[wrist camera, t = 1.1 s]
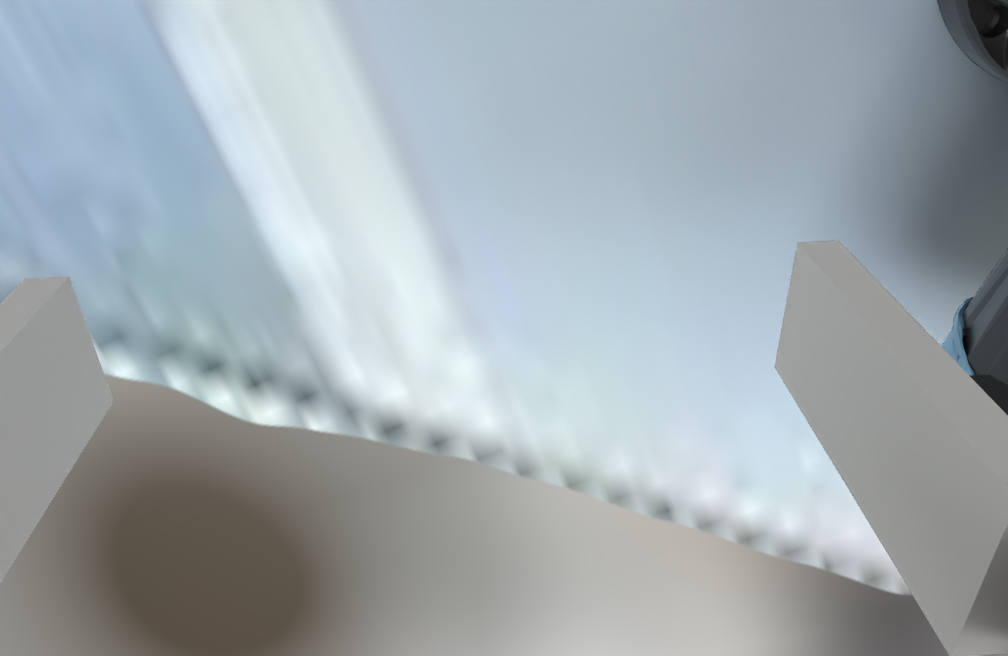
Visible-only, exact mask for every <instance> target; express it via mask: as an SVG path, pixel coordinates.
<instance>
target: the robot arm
mask: <svg viewBox="0 0 1008 656" xmlns="http://www.w3.org/2000/svg"><path fill="white" fill-rule="evenodd" d="M938 3H939V7H940V11H941V13H942V16H943V19H944V21H945V24H946V26H947V28H948V30H949V32H950V34H951V35H952V37H953V39H954V40H955V42H956V43H957V44H958V46H959V47H960V48H961V50H962V51H963V52H964V53H965V54H966V55H967V56H968V57H969V58H970V59H971V60H972V61H973V62H974V63H975V64H977V65H978V66H979V67H981V68H982V69H983V70H985V71H987V72H988V73H990V74H992V75H993V76H996V77H998V78H1000V79H1002V80H1004V81H1006V82H1008V0H938ZM775 369H776V370H777V372H778V374H779V375H780V377H781V379H782V380H783V382H784V384H785V385H786V387H787V388H788V390H789V392H790V393H791V395H792V397H793V398H794V400H795V402H796V403H797V405H798V407H799V408H800V410H801V412H802V413H803V415H804V416H805V418H806V420H807V421H808V423H809V425H810V426H811V428H812V430H813V431H814V433H815V435H816V436H817V438H818V440H819V441H820V443H821V445H822V446H823V448H824V449H825V451H826V453H827V454H828V456H829V458H830V459H831V461H832V463H833V464H834V466H835V468H836V469H837V471H838V473H839V474H840V476H841V477H842V479H843V481H844V482H845V484H846V486H847V487H848V489H849V491H850V492H851V494H852V496H853V497H854V499H855V501H856V502H857V504H858V506H859V507H860V509H861V510H862V512H863V514H864V515H865V517H866V519H867V520H868V522H869V524H870V525H871V527H872V529H873V530H874V532H875V534H876V535H877V537H878V538H879V540H880V542H881V543H882V545H883V547H884V548H885V550H886V552H887V553H888V555H889V557H890V558H891V560H892V562H893V563H894V565H895V567H896V568H897V570H898V571H899V573H900V575H901V576H902V578H903V580H904V581H905V583H906V585H907V586H908V588H909V590H910V591H911V593H912V595H913V596H914V598H915V599H916V601H917V603H918V604H919V606H920V608H921V609H922V611H923V613H924V614H925V616H926V618H927V619H928V621H929V622H930V624H931V626H932V628H933V629H934V631H935V632H936V634H937V636H938V637H939V639H940V641H941V642H942V644H943V646H944V647H945V649H946V650H947V652H948V654H949V656H976V655H993V654H1008V249H1007V250H1006V251H1005V253H1004V254H1003V256H1002V257H1001V259H1000V260H999V261H998V263H997V264H996V266H995V267H994V269H993V270H992V271H991V273H990V274H989V276H988V277H987V279H986V280H985V281H984V283H983V284H982V286H981V287H980V289H979V290H978V291H977V293H976V294H975V296H974V297H973V298H969V299H966V300H965V301H964V302H963V304H962V305H961V306H960V307H959V309H958V310H957V312H956V314H955V317H954V319H953V328H952V330H951V332H950V333H949V335H948V337H947V338H946V340H945V341H944V343H943V345H942V346H940V345H939V344H938V343H937V342H936V341H935V340H934V339H933V338H932V337H931V336H930V334H929V333H928V332H927V331H926V330H925V329H924V328H923V327H922V326H921V325H920V324H919V323H918V322H917V321H916V320H915V319H914V318H913V317H912V316H911V315H910V314H909V313H908V312H907V311H906V310H905V309H904V307H903V306H902V305H901V304H900V303H899V302H898V301H897V300H896V299H895V298H894V297H893V296H892V295H891V294H890V293H889V292H888V291H887V290H886V289H885V288H884V287H883V286H882V285H881V284H880V283H879V282H878V281H877V279H876V278H875V277H874V276H873V275H872V274H871V273H870V272H869V271H868V270H867V269H866V268H865V267H864V266H863V265H862V264H861V263H860V262H859V261H858V260H857V259H856V258H855V257H854V256H853V255H852V254H851V253H850V251H849V250H848V249H847V248H846V247H845V246H844V245H843V244H842V243H841V242H840V241H818V242H798V243H797V248H796V254H795V259H794V264H793V270H792V275H791V281H790V286H789V291H788V297H787V302H786V308H785V313H784V318H783V324H782V329H781V335H780V340H779V346H778V351H777V356H776V362H775ZM112 403H113V398H112V395H111V393H110V390H109V387H108V384H107V381H106V379H105V376H104V373H103V370H102V367H101V365H100V362H99V359H98V356H97V354H96V351H95V348H94V345H93V342H92V340H91V337H90V334H89V331H88V328H87V326H86V323H85V320H84V317H83V314H82V312H81V309H80V306H79V303H78V301H77V298H76V295H75V292H74V289H73V287H72V284H71V281H70V278H69V277H52V278H31V279H25V280H24V281H23V282H22V283H21V284H20V285H19V286H18V287H17V288H16V289H15V290H14V291H13V292H12V293H11V294H10V295H9V296H8V297H7V298H6V299H5V300H4V301H3V302H2V303H1V304H0V583H1V581H2V580H3V578H4V577H5V575H6V573H7V572H8V570H9V569H10V567H11V565H12V564H13V562H14V561H15V559H16V557H17V556H18V554H19V553H20V551H21V549H22V548H23V546H24V544H25V543H26V541H27V539H28V538H29V536H30V535H31V533H32V531H33V530H34V528H35V527H36V525H37V524H38V522H39V520H40V519H41V517H42V515H43V514H44V512H45V511H46V509H47V507H48V506H49V504H50V502H51V501H52V499H53V498H54V496H55V494H56V493H57V491H58V490H59V488H60V486H61V485H62V483H63V482H64V480H65V478H66V477H67V475H68V474H69V472H70V470H71V469H72V467H73V466H74V464H75V462H76V461H77V459H78V457H79V456H80V454H81V452H82V451H83V449H84V448H85V446H86V445H87V443H88V441H89V440H90V438H91V437H92V435H93V433H94V432H95V430H96V428H97V427H98V425H99V424H100V422H101V420H102V419H103V417H104V415H105V414H106V412H107V411H108V409H109V408H110V406H111V404H112Z"/></svg>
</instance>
